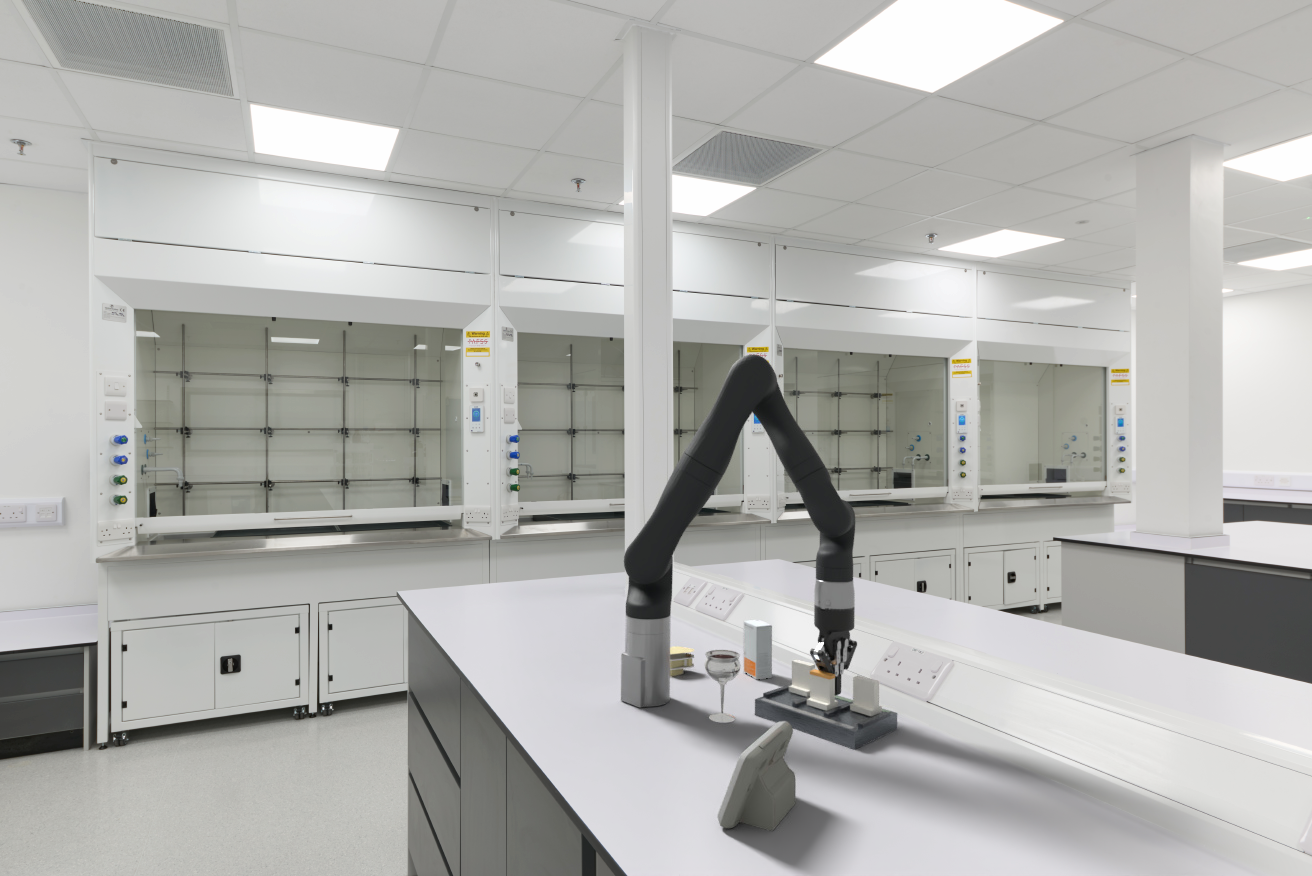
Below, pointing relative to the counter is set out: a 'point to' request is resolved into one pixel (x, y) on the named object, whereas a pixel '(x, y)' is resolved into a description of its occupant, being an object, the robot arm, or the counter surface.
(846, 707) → the breaker panel
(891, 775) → the counter surface
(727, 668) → the wineglass
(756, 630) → the skincare box
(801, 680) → the breaker handle left
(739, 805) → the digital clock
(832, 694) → the breaker handle
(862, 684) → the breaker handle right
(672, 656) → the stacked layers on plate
